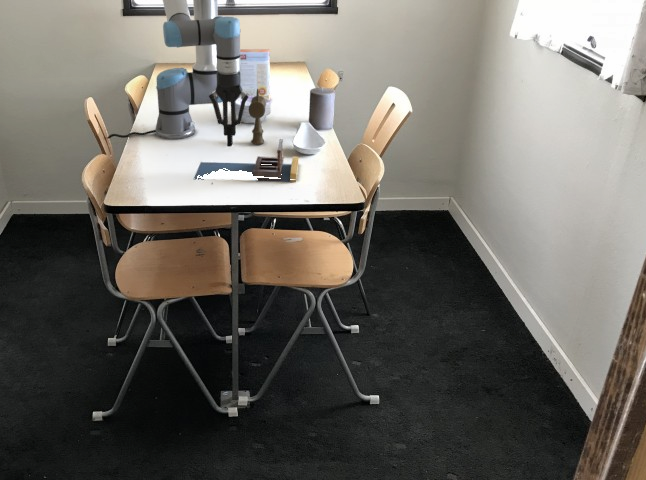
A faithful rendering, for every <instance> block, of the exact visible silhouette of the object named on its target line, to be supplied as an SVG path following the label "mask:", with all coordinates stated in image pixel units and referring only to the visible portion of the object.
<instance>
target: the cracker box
mask: <svg viewBox="0 0 646 480" xmlns="http://www.w3.org/2000/svg"><path fill="white" fill-rule="evenodd" d="M270 53H271V50H270V49H269V48H267V49H263V48H261V49H259V48H257V49H256V48H255V49H254V48H253V49H241V48H240V71H239V72H240V76H241V88H242V91H243V92H245V93H248V94H249V96H257V89H258V90H259V96H262V97H265V98H268V99H270V100H271V85H270V84H271V83H270V82H271V68H270V67H271V64H270V63H271V56H270ZM240 97H241V94H240V96H239V97H238V98H240Z"/></svg>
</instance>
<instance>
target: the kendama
mask: <svg viewBox="0 0 646 480" xmlns="http://www.w3.org/2000/svg"><path fill="white" fill-rule="evenodd" d="M265 107H266V100H265V98H264V97H262V96H259V90H258V89H257V96H255V97H253V98H252V100H251V104H250V106H249V114H250V116H251V117H253V118H255V123H254V126H253V129H252V130H251V133H252V139H251V140H250V143H251V144H252V145H256V146H259V145H260V146H261V145H264V143H266V142H265V139H264V136H263V135H264V129H263V128H262V123H261V122H260V118H261V117H263V115H264V114H265Z"/></svg>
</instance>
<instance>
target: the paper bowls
mask: <svg viewBox="0 0 646 480" xmlns="http://www.w3.org/2000/svg"><path fill="white" fill-rule="evenodd" d="M253 97H255V96H249V97H248V99H247V101H246V102H245V106H244V111H243V115H242V119H241V123H245V124H255V118H253V117H251V116H250V114H249V106H250V104H251V100H252V98H253ZM264 98H265V97H264ZM265 100H266V107H265V114H264V115H263V117H261V118H260V122H263V121H264V120H265V119H266V117H267V116H269V115H270V114H271V111H272V109H271V106H272V105H271V104H272V102H271V98H270V99H268V98H265ZM241 102H242V99H241V97H240V98H238V99H237V100H236V103H235V108H236V117H238V115H239V110H240V106H241Z"/></svg>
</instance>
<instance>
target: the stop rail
mask: <svg viewBox="0 0 646 480" xmlns="http://www.w3.org/2000/svg"><path fill="white" fill-rule="evenodd" d="M299 158H300V157H299V156H292V160H291V164H292V165H291V172H290V179H296V180H290V182H289V183H297V181H298V180H297V179H298V172H297V171H299Z"/></svg>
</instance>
